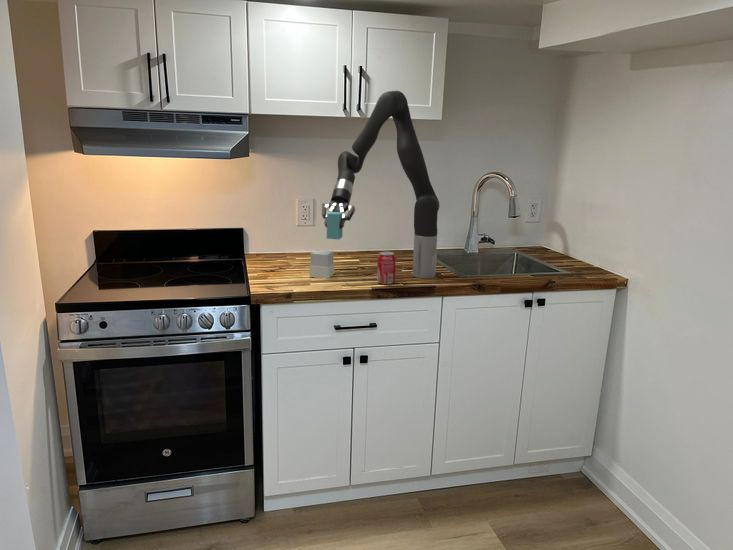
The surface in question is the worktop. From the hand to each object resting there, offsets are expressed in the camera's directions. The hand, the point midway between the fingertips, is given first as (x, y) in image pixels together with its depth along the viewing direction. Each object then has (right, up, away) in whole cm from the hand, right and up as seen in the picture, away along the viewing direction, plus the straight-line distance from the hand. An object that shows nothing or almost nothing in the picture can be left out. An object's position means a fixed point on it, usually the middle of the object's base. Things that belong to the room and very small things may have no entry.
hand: (333, 226), depth 215 cm
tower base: (-5, -19, +8) cm, 22 cm away
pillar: (0, -4, +3) cm, 5 cm away
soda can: (+21, -22, -1) cm, 30 cm away
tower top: (-5, -15, +7) cm, 17 cm away
